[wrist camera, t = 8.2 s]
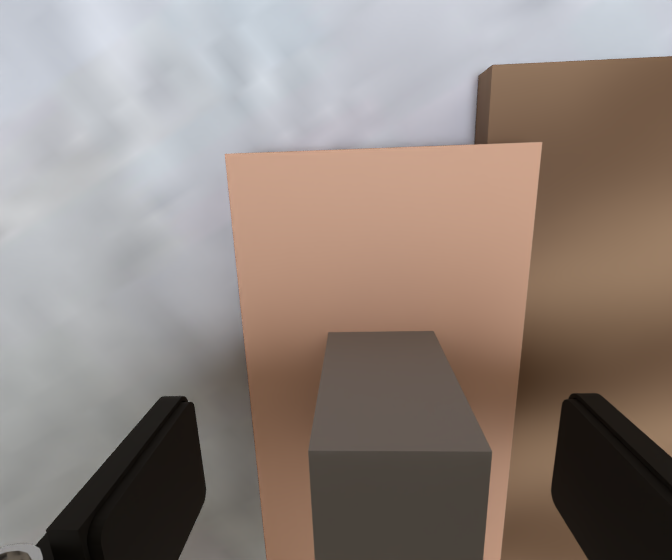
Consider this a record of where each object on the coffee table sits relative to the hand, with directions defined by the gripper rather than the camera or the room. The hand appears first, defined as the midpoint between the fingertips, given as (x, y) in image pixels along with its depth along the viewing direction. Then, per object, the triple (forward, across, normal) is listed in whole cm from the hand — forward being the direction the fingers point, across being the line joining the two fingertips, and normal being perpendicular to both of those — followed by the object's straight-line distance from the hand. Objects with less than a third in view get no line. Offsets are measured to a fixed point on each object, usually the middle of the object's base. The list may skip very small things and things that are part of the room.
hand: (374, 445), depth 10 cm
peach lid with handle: (+3, 0, 0) cm, 3 cm away
